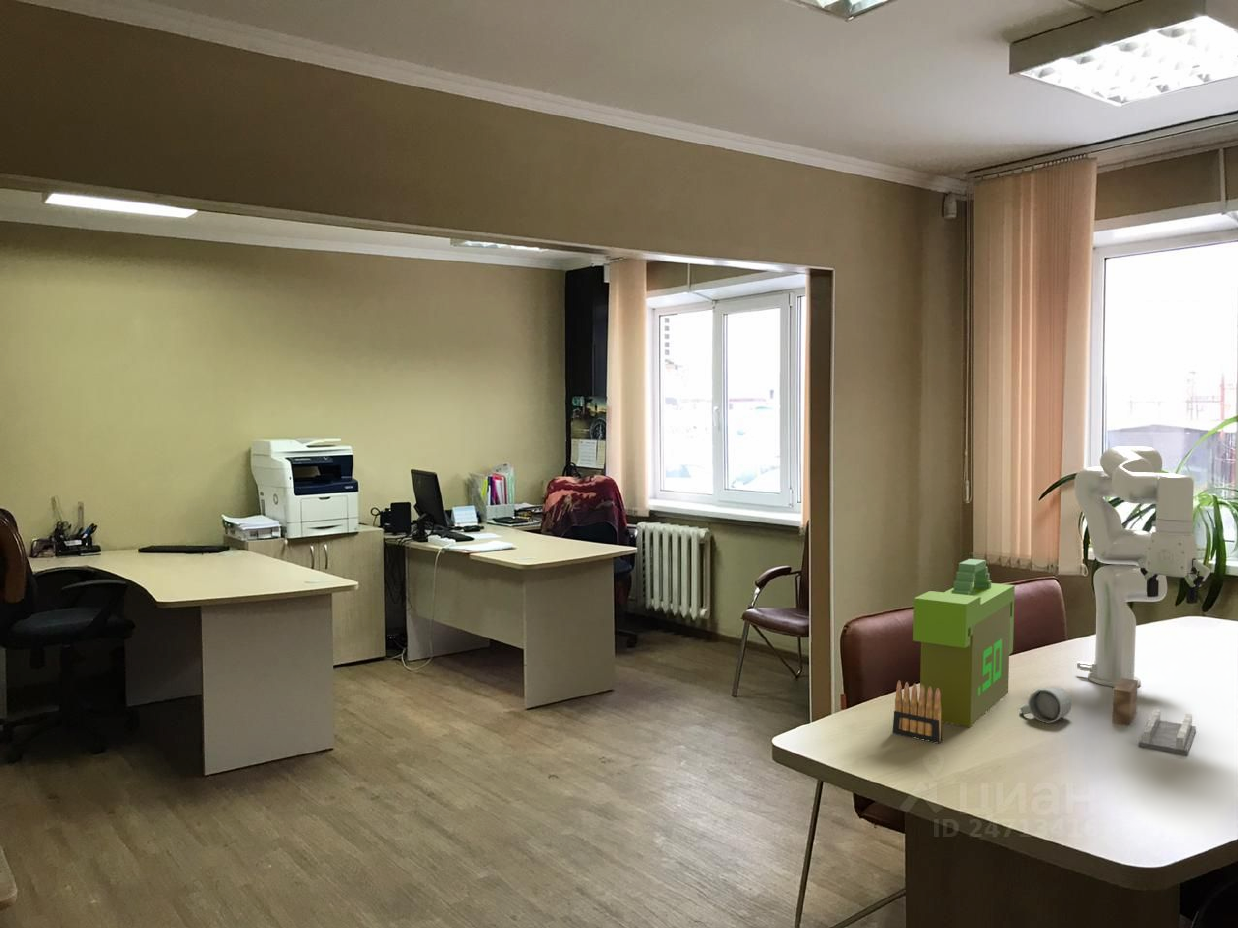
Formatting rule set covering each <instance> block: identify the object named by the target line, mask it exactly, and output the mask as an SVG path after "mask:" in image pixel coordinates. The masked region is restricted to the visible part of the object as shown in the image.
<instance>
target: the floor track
mask: <svg viewBox="0 0 1238 928" xmlns="http://www.w3.org/2000/svg"><path fill="white" fill-rule="evenodd" d="M1161 715H1162V709H1157V708H1155V709H1153V712H1152V714H1151V716H1150V718H1149V720H1148V722H1147V723H1146V726H1145V727H1144V730H1143V733H1142V735H1141V737H1140V739H1139V741H1138V748H1145V749H1149V750H1154V751H1161V752H1166V753H1171V754H1176V755H1183V756H1188V754H1189V751H1190V748H1191V745H1192V742H1193V740H1194V737H1195V733H1196V729H1197V728H1196V725H1192V724H1193V714H1188V713H1185V716H1184V718H1183V721H1182V723H1178V722H1172V721H1168V720H1167V721H1166V720H1161V719H1162V717H1161Z"/></svg>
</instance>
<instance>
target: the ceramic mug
mask: <svg viewBox="0 0 1238 928" xmlns="http://www.w3.org/2000/svg"><path fill="white" fill-rule="evenodd" d="M1072 707H1073V702H1072V698H1071V696H1070V695H1069V693H1068V692H1067V691H1066V690H1065V689H1063V688H1061V687H1058V686H1049V687H1045V688H1042V689H1038V690H1035V691H1034V692H1033V693H1032V694H1031V695H1030V697H1029V698H1028V704H1027V705H1024V706H1021V707H1020V708H1019V709H1020V712H1021V714H1022V715H1026V714H1031V715H1032V716H1033V717H1034V718H1035V719H1036V720H1038V722H1041V721H1042V722H1041V723H1044V722H1046V723H1045V724H1052V723H1054V722H1057V721H1058V720H1060V719H1062V718H1064V717H1066V716H1067V715H1068V714H1069V713H1070V711H1071V710H1072Z"/></svg>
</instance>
